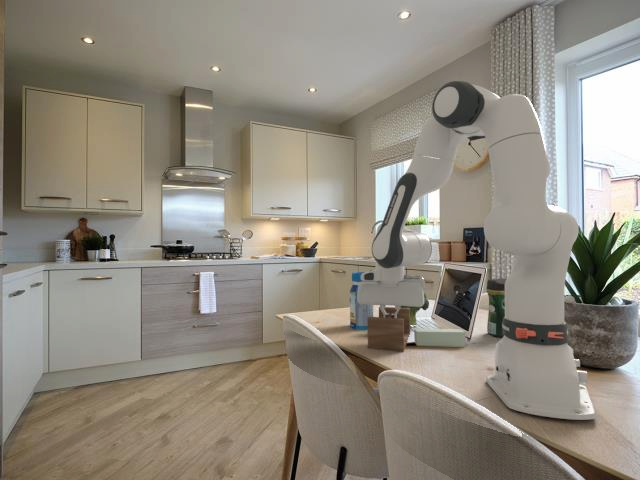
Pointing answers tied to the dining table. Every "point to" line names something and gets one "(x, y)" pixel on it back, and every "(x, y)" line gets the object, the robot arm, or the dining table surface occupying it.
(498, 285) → the coffee jar
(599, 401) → the dining table surface
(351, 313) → the beverage bottle
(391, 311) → the wooden napkin holder
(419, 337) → the pale green rectangular bar
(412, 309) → the vegetable
